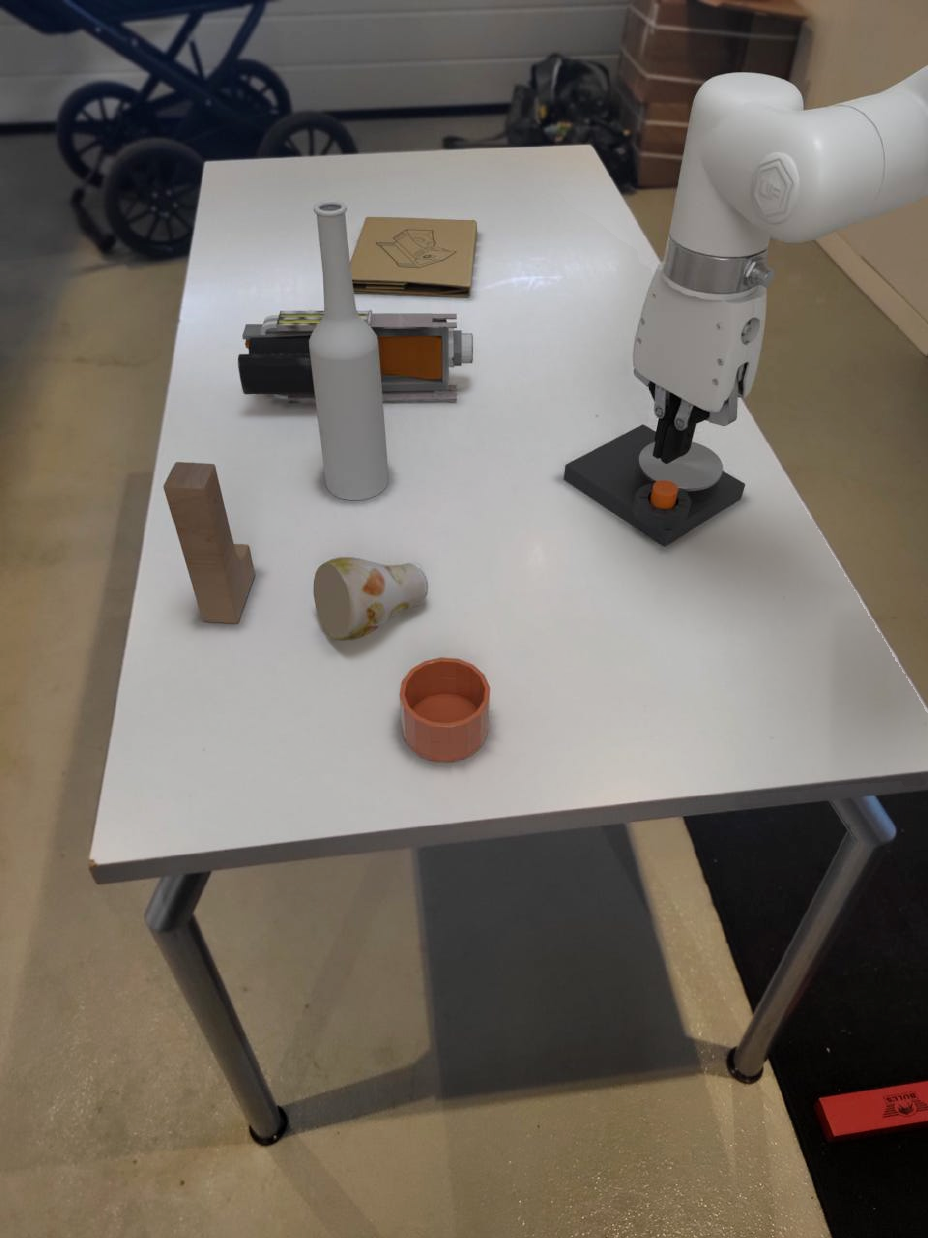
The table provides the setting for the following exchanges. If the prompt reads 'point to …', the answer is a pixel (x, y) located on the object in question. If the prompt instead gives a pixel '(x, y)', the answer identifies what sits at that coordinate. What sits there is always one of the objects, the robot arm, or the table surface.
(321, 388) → the bottle
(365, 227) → the box
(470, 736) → the cup
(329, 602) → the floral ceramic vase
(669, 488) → the button
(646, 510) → the scale
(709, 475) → the brushed metal disc
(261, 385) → the mechanical component
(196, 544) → the wooden block
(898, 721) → the table surface
